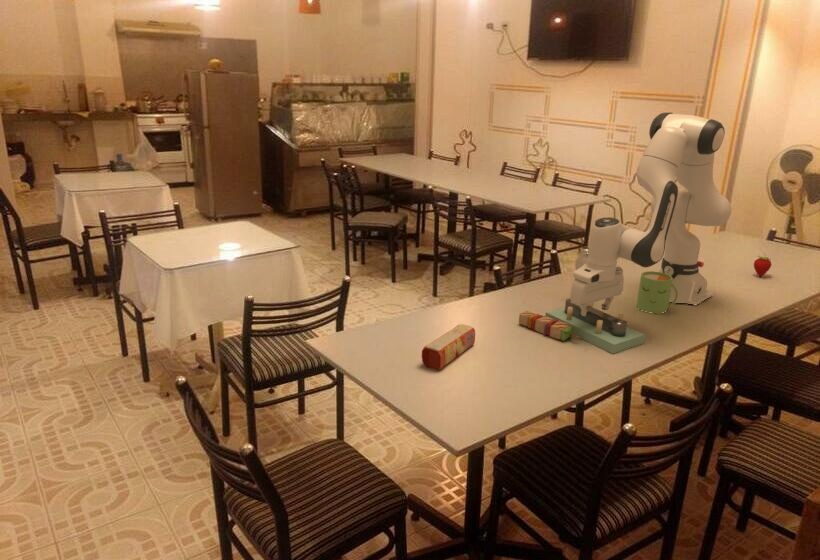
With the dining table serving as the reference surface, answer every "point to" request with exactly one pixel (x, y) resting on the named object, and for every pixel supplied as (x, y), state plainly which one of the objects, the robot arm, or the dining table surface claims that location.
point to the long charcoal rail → (609, 322)
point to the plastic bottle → (582, 258)
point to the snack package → (448, 346)
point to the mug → (655, 292)
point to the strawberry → (762, 265)
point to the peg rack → (598, 331)
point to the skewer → (547, 325)
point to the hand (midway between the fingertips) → (594, 312)
